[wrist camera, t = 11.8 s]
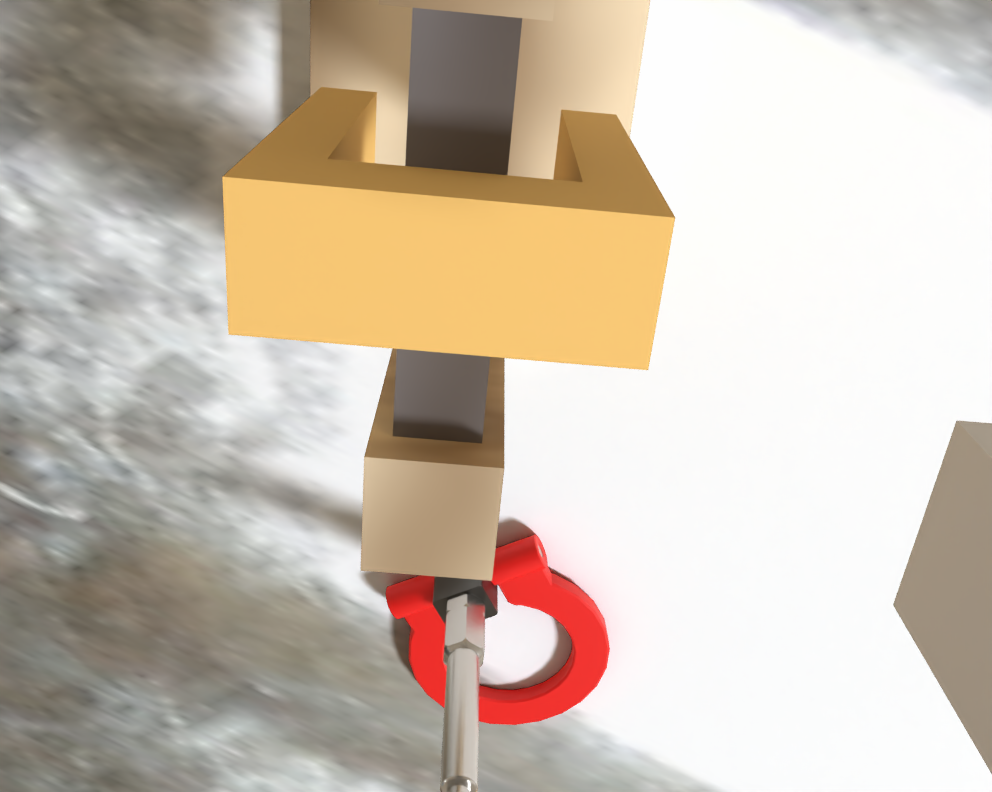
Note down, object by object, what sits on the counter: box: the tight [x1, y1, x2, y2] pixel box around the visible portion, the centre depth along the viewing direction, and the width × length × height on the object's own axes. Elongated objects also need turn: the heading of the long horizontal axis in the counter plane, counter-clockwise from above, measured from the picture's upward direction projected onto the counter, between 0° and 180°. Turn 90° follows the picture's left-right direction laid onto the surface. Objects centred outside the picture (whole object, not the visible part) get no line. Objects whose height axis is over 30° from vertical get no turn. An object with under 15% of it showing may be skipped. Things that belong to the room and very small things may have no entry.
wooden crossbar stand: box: [310, 0, 650, 581], centre depth 25 cm, size 10×15×14 cm, turn 175°
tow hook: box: [386, 534, 610, 792], centre depth 35 cm, size 8×13×9 cm
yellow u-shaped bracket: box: [222, 87, 675, 370], centre depth 22 cm, size 8×3×10 cm, turn 85°
